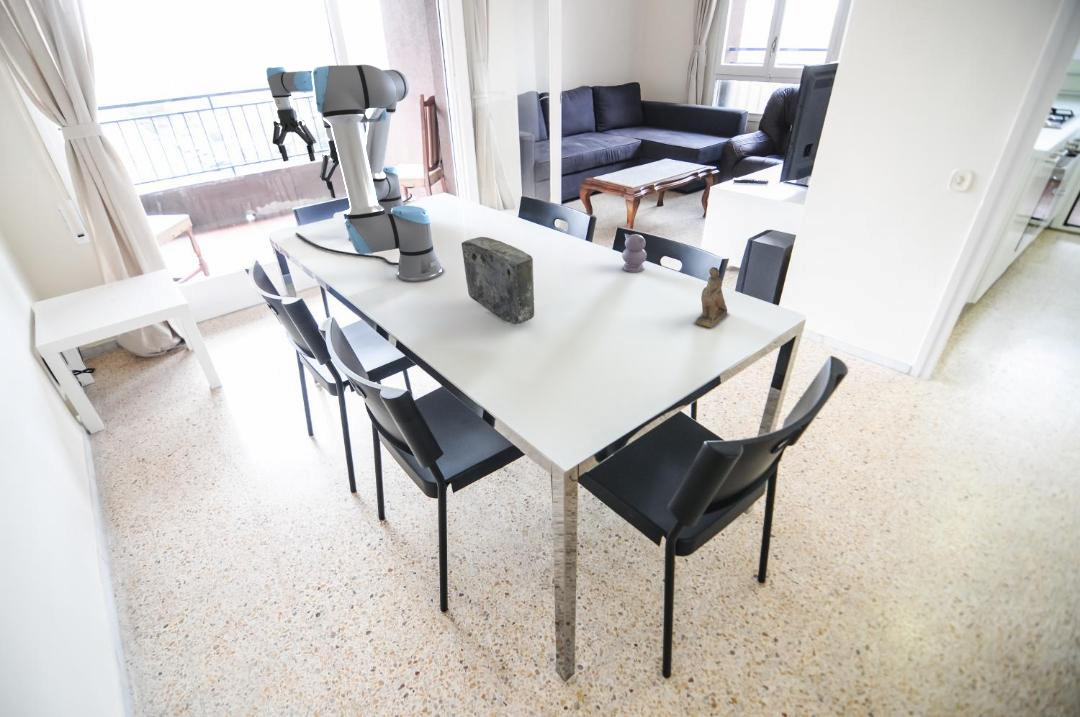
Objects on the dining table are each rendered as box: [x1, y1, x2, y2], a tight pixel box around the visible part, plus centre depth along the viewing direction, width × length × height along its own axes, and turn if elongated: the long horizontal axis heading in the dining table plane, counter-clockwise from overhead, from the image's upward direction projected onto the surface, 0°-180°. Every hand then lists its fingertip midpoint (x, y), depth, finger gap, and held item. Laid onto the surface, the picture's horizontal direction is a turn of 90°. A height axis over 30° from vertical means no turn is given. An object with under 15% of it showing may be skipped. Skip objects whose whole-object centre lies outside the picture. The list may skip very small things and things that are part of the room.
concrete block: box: [461, 236, 535, 325], centre depth 141 cm, size 27×9×20 cm, turn 36°
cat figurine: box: [621, 233, 648, 273], centre depth 170 cm, size 8×8×12 cm
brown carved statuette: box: [695, 266, 728, 328], centre depth 135 cm, size 12×6×18 cm, turn 136°
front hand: (350, 194), depth 205 cm, fingers open, 13 cm apart
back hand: (299, 161), depth 224 cm, fingers open, 13 cm apart
